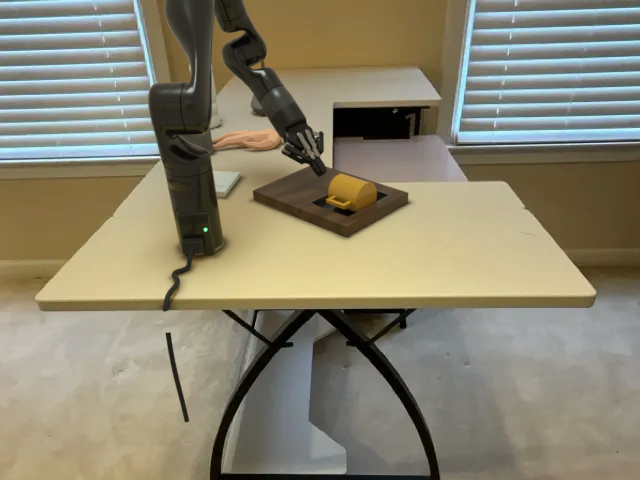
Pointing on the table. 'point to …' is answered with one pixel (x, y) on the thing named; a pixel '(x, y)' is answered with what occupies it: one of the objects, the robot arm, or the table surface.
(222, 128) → the table surface
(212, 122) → the water bottle
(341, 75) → the table surface
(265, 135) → the male figurine
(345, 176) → the mug
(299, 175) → the counter
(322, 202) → the sink
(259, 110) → the coffee pot
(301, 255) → the table surface
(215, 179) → the hard drive
